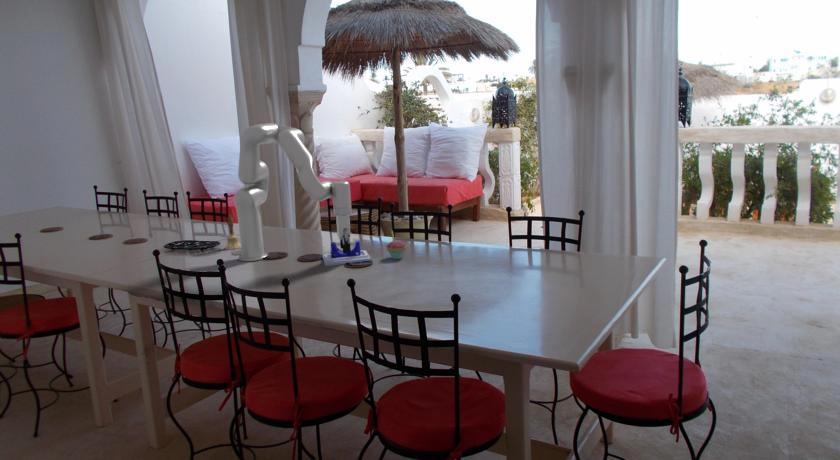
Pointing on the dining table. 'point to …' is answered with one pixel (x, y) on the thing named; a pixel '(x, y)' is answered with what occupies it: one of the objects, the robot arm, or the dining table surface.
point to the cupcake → (396, 248)
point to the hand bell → (232, 237)
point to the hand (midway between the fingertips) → (345, 250)
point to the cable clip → (339, 254)
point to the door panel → (345, 259)
